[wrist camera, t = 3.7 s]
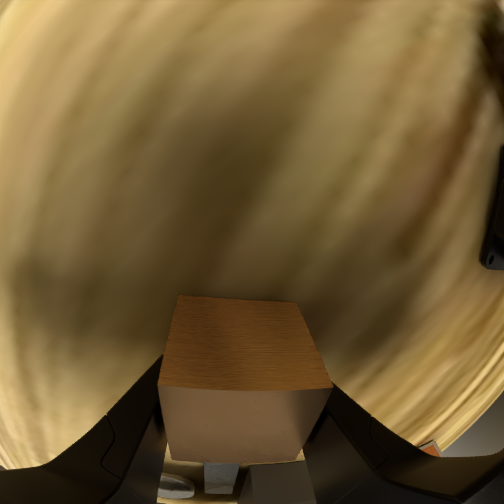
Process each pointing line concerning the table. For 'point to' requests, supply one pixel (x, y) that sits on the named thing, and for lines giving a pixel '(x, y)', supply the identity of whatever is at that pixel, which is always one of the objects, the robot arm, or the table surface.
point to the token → (175, 486)
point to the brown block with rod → (239, 385)
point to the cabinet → (277, 484)
